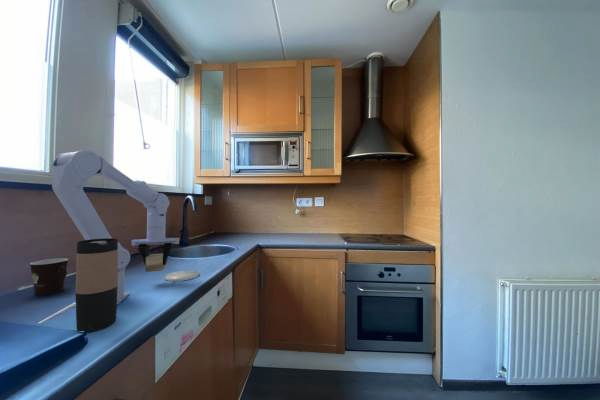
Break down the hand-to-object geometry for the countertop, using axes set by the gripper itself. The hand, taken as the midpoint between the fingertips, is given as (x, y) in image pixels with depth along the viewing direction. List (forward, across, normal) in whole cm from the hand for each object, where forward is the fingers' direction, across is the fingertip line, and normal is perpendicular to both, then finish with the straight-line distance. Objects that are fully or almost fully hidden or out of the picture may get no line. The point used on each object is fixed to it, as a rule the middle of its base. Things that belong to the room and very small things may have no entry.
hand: (155, 264), depth 86 cm
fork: (+8, +17, +14) cm, 23 cm away
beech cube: (+2, 0, 0) cm, 2 cm away
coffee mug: (+7, +31, -1) cm, 31 cm away
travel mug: (+7, +5, +28) cm, 30 cm away
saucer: (+7, -8, -8) cm, 13 cm away
